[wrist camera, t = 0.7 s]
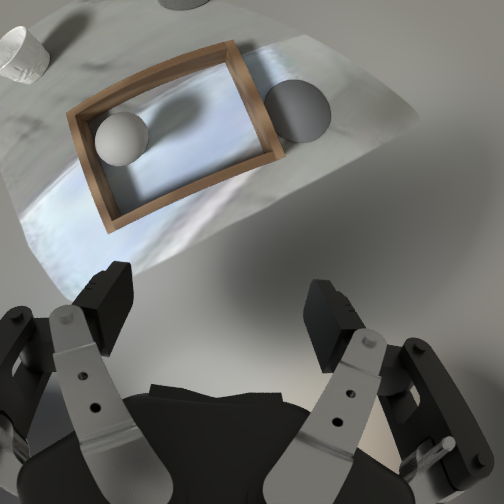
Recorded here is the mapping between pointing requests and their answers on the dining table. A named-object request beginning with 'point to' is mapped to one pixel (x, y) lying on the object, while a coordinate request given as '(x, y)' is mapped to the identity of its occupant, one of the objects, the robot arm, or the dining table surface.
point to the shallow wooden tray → (149, 81)
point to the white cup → (22, 56)
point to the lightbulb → (121, 139)
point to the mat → (298, 111)
